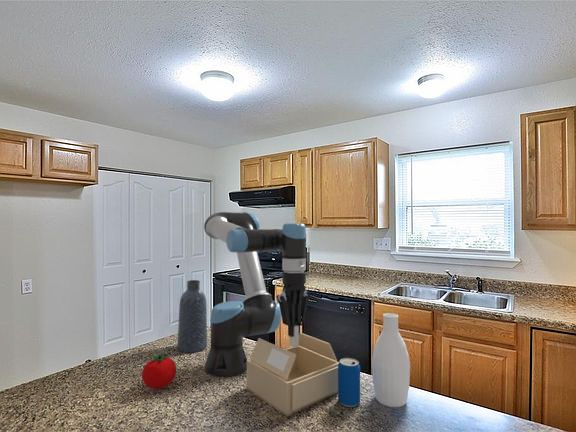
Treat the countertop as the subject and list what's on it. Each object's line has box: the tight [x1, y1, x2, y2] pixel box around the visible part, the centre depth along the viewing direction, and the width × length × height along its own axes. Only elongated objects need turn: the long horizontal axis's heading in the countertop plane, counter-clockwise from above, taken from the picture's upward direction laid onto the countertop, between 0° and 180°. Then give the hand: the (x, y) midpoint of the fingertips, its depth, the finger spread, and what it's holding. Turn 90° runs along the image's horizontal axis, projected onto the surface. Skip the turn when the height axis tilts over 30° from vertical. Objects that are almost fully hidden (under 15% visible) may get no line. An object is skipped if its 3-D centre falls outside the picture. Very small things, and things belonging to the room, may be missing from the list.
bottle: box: [371, 312, 411, 408], centre depth 102 cm, size 11×11×25 cm
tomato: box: [141, 353, 177, 390], centre depth 108 cm, size 10×10×10 cm
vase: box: [176, 279, 208, 353], centre depth 143 cm, size 12×12×28 cm
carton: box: [246, 346, 340, 418], centre depth 107 cm, size 22×22×9 cm
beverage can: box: [337, 357, 361, 408], centre depth 100 cm, size 6×6×12 cm
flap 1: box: [249, 337, 296, 380], centre depth 101 cm, size 18×1×7 cm
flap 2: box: [299, 331, 338, 362], centre depth 112 cm, size 18×1×7 cm, turn 40°
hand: (293, 345), depth 107 cm, fingers closed
